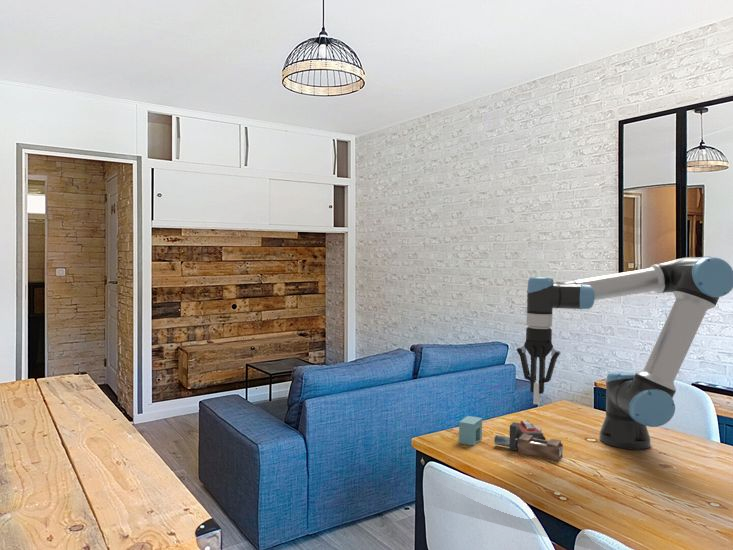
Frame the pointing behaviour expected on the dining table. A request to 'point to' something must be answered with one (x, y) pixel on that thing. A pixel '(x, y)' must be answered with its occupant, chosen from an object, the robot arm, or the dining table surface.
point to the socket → (470, 430)
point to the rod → (514, 438)
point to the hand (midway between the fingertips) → (536, 403)
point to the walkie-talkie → (531, 430)
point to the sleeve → (539, 447)
